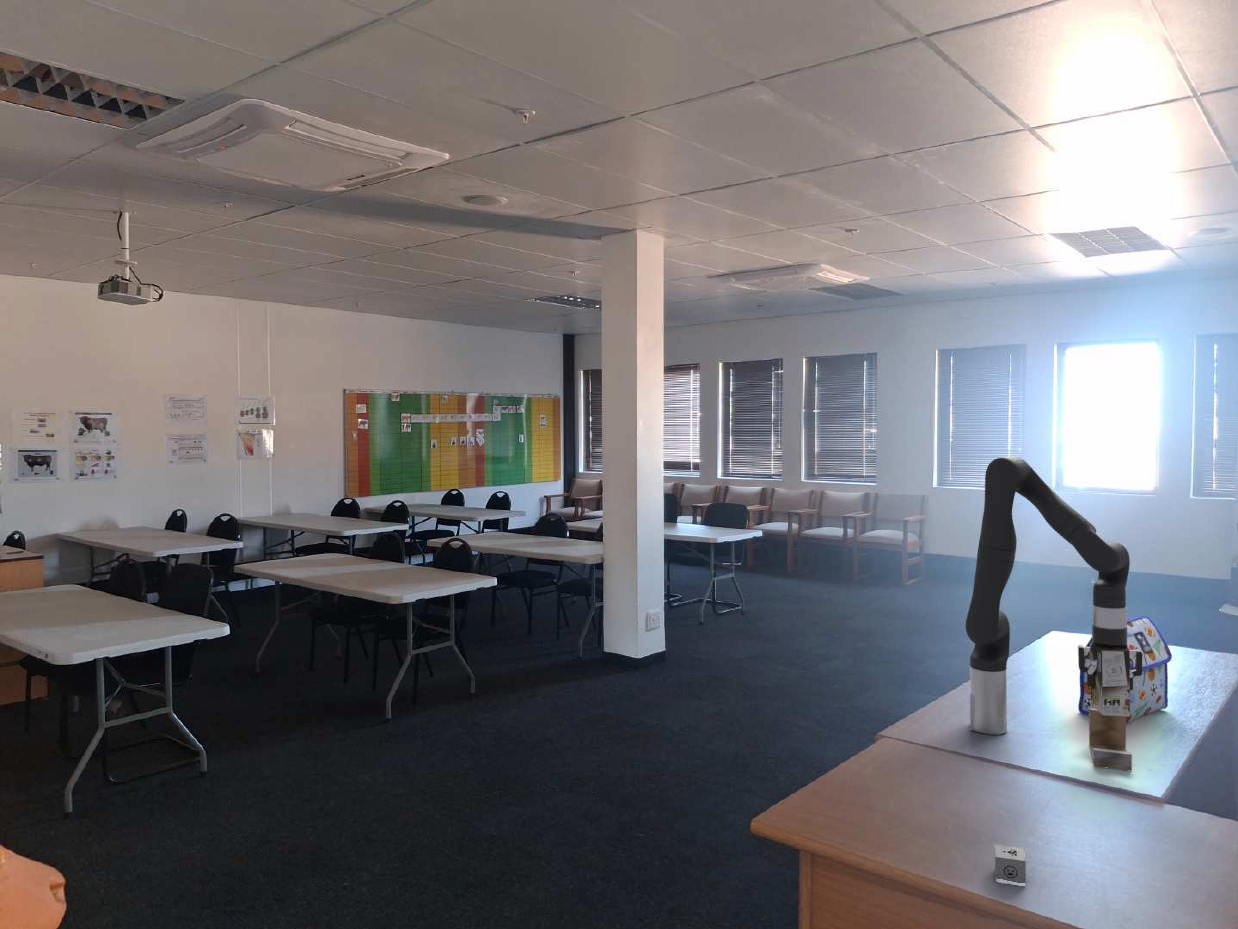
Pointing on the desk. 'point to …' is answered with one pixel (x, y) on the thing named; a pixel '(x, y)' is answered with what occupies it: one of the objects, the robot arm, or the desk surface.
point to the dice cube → (1010, 863)
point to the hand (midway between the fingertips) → (1109, 690)
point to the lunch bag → (1154, 677)
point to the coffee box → (1111, 681)
